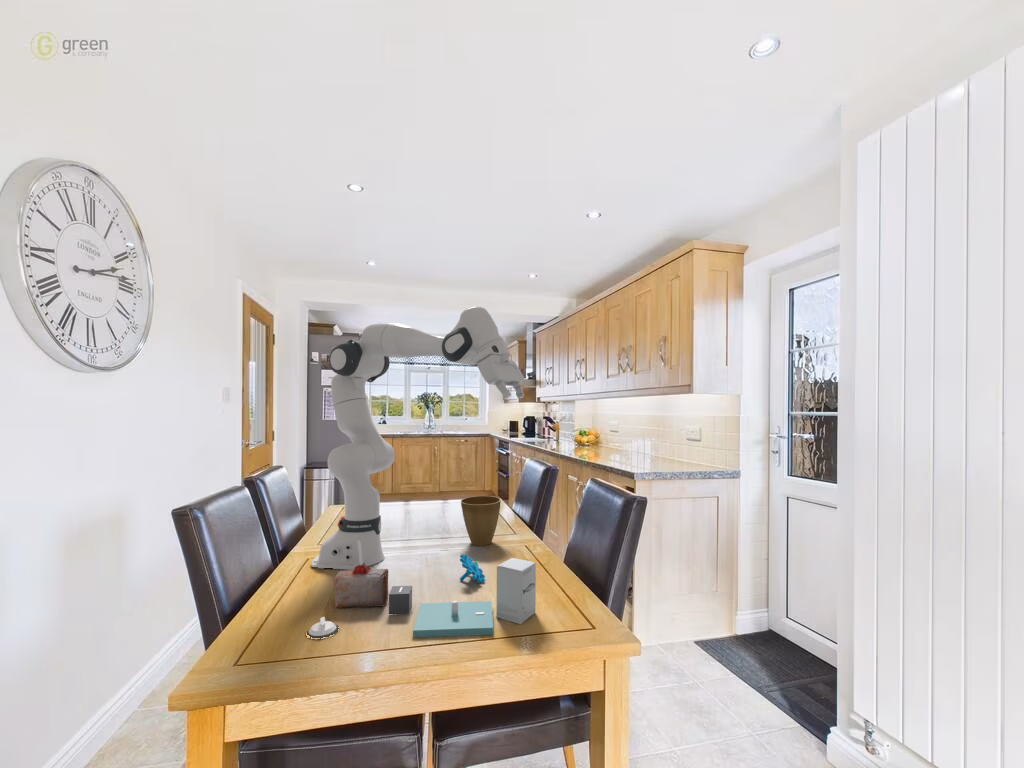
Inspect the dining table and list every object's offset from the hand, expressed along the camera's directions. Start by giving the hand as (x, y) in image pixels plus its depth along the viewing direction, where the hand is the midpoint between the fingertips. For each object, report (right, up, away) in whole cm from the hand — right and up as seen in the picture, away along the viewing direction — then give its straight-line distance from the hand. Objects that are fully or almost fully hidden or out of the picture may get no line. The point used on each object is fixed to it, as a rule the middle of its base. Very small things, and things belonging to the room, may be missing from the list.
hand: (515, 397), depth 133 cm
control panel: (-15, -53, -21) cm, 59 cm away
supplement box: (0, -54, -18) cm, 56 cm away
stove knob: (-44, -54, -26) cm, 74 cm away
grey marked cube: (-29, -54, -15) cm, 63 cm away
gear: (-12, -54, +4) cm, 56 cm away
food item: (-40, -54, -11) cm, 68 cm away
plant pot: (-12, -56, +40) cm, 70 cm away
